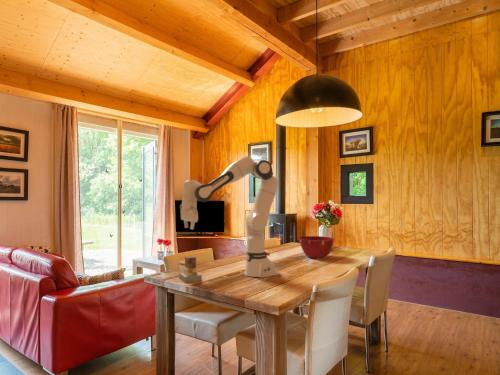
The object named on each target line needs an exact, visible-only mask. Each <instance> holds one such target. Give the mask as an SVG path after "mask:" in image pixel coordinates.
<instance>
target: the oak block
mask: <svg viewBox="0 0 500 375" xmlns="http://www.w3.org/2000/svg"><path fill="white" fill-rule="evenodd" d="M197 273H198V267H197V266H196V268H189V269H188V268H186V267H184V274H185V275H187V276H190V275H197Z"/></svg>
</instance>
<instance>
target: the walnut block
mask: <svg viewBox="0 0 500 375" xmlns="http://www.w3.org/2000/svg"><path fill="white" fill-rule="evenodd" d="M184 260H185V267H186V268H188V269H189V268H196V267H197V257H196V256H194V255H189V256H184Z"/></svg>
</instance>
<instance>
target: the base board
mask: <svg viewBox="0 0 500 375" xmlns="http://www.w3.org/2000/svg"><path fill="white" fill-rule="evenodd" d="M178 278H179V279H180V280H181V281H182V282H183V283H191V282H198V280H199V281H202V279H203V278H202V274H201V273H199V272H197V275H190V276H187V275H185V274H184V273H181V272H180V273H179V277H178Z"/></svg>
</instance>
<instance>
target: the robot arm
mask: <svg viewBox="0 0 500 375" xmlns="http://www.w3.org/2000/svg"><path fill="white" fill-rule="evenodd" d="M249 174H250V175H252V176H254V178H256V179H259V180H260V182H261V183H260V186H259V188H258V191H257V193H256V196H255V199H254V202H253V205H252V206H253V208H252V211H250V212H249V213H248V214H247V215H246V218H245V229H246V255H245V258H246V263H245V269H244V272H243V273H244V274H243V275H244V276H246V277H251V278H252V277H253V278H268V277H271V276H276V275H280V271H279V270H276V264H275V263H274V261H272V260H270V258H268V257H269V256H270V255H271V253H270V252H266V251H265V249H266V248H265V246H266V245H265V242H266V241H265V235H264V232H265V231H264V229H266V227H267V226H268V220H269V216H270V212H271V207H272V205H273V203H274V199H275V197H276V194H277V192H278V187H279V180H278V178H277V177H276V176H274V172H273V166H272V164H271V163H270V161H269V160H266V159H260V160H258V161H255V160H253V158H252V157H251V156H247V155H245V156H243V157H241V158H239V159H237V160H236V161H233V163H231V164H230V165H229V166H227V167H226V168H225V169H224V171H223V172H222V173H221V174H220V175H219V176H218V177H217V178H214V179H213V180H212V181H210V182H208V183H206V184H203V183H201V182H199V181H197V180H196V179H189V180H185V181H184V182H183V184H182V200H181V204H180V205H179V209H180V219H181V221H183V224H184V228H185V229H188V228H189V229H190V230H194V229H195V224H196V223H198V222H199V212H198V209H197V207H198V206H197V205H198V204H197V203H198V202H201V203H206V202H208V201H209V200H210V199H212V196H213V195H214V194H215V193H216V192H218V190H220V189H222V188H224V186H226V185H228V184H231V183H235V182H237V181H239V180H241V179H243V178H244V177H246V176H247V175H249ZM197 201H198V202H197ZM188 222H190V225H189V223H188Z"/></svg>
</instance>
